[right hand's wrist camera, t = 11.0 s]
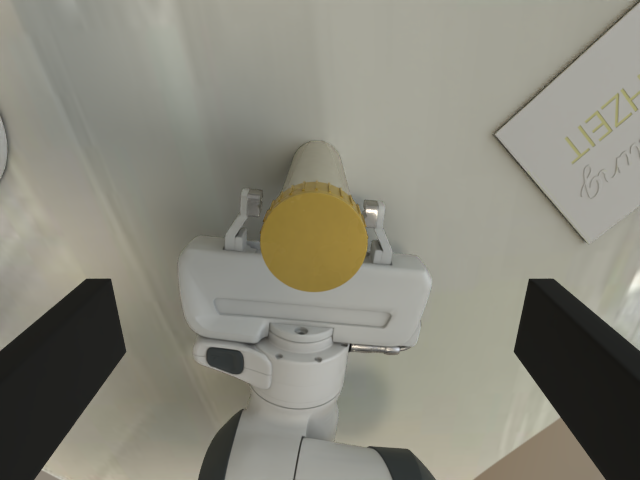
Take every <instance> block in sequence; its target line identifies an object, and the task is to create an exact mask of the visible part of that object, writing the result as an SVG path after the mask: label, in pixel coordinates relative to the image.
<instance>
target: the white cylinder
mask: <svg viewBox="0 0 640 480" xmlns="http://www.w3.org/2000/svg"><path fill="white" fill-rule="evenodd" d="M316 180H317V181H318V182H323V183H327V184H328V182H329V183H330V184H331V185H333V186H336V187H338V188H340V187H341V188H342V190H343V191H344V192H345V193H347V194H348V195H350V192H349V188H348V184H347V180H346V177H345V173H344V169H343V165H342V162H341V158H340V155H339V153H338V152H337V150H336V149H335V148H334V147H333V146H332V145H330V144H328V143H326V142H323V141H310V142H307V143H305V144H303V145H302V146H301V147H300V148H299V149H298V150H297V151H296V153H295V155H294V157H293V160H292V163H291V166H290V169H289V171H288V174H287V177H286V180H285V183H284V186H283V188H282V191H283V192H284V191H286V190H287V189H289V188H291V185H293V186H295V185H298V184H301V183H303V181H305V182H316ZM282 191H281V192H282Z"/></svg>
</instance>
